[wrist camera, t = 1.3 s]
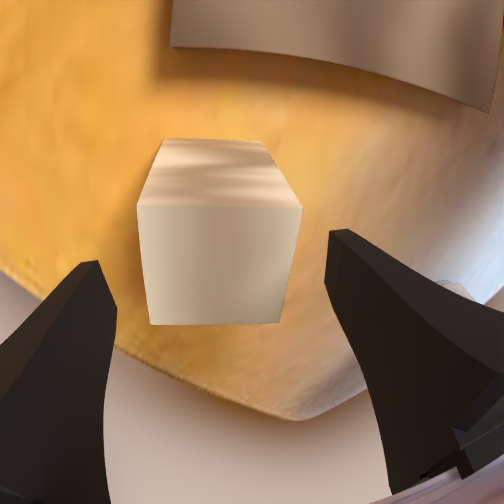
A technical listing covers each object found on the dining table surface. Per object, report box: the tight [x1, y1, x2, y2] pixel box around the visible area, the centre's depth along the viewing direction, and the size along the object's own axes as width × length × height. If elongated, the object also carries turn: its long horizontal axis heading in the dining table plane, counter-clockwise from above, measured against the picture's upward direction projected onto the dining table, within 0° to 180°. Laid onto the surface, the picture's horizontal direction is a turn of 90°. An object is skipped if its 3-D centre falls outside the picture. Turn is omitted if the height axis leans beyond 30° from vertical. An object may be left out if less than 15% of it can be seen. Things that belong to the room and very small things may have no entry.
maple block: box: [136, 139, 303, 325], centre depth 13 cm, size 4×4×7 cm
